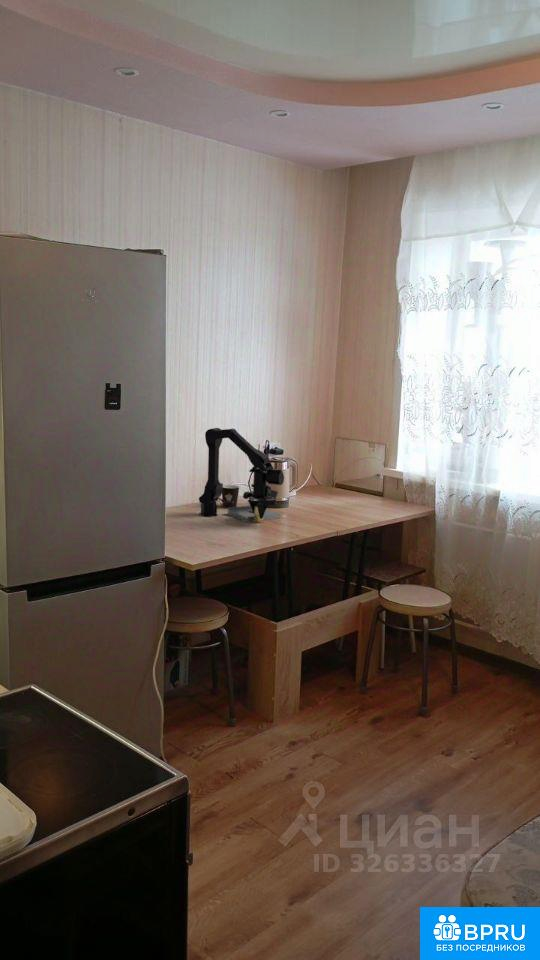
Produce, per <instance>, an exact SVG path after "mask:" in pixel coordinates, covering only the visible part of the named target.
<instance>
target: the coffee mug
mask: <svg viewBox="0 0 540 960" xmlns="http://www.w3.org/2000/svg"><path fill="white" fill-rule="evenodd" d="M222 489H223V492H222V494H221V498H220V497H219V498H218V500H219V501H220V502H221V503H222V508H224V507H225V508H224V509H228V507H238V506H237V505H238V499H239V498H238V497H239V493H240V491H239V490H240V486H239V485H235V484H234V485H233V484H225V485H224V484H223V487H222Z"/></svg>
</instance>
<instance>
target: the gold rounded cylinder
mask: <svg viewBox="0 0 540 960" xmlns="http://www.w3.org/2000/svg"><path fill="white" fill-rule="evenodd" d="M253 522H254V523H255V524H262V523H264V520H263V518H262V519H260V516H259V512H258V508H257V506H255V510H254V521H253Z"/></svg>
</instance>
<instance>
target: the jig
mask: <svg viewBox="0 0 540 960" xmlns="http://www.w3.org/2000/svg"><path fill="white" fill-rule="evenodd" d="M228 514H229V515H228ZM227 515H228V516H231V517H233V516H234V518H235V519H239V520H240V519H241V521H243V522H245V523H247V522H254V513H253V510H252V508H251V506H250V505H240V506H236V507H228V508H227ZM280 515H281V513H278V512H276V511H273V510H270V509H267V508H266V510H265V513H264V516H263V521H264V520H272V519H275V520H276V519H280V518H281V516H280Z"/></svg>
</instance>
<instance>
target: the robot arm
mask: <svg viewBox="0 0 540 960" xmlns="http://www.w3.org/2000/svg"><path fill="white" fill-rule="evenodd" d="M204 436H205V443H206V445H207V449H208V458H207V459H208V460H207V461H208V462H207V467H208V468H207V480H206V483H205V485H204V490H203V494H202V495H201V496H200V497H198V501H199V503H200V512H199V513H198V514H199V515H200V514H201V516H203V517H205V518H206V517H216V516H217V517H218V515H219V514H218V504H217V502H218V501H219V499H218V498H220V497H222V492H223V489H222V487H223V485H224V484H223V482H221V483H220V479H219V471H220V469H219V468H220V465H219V464H220V459H219V458H220V447H221V445H222V443H223V439H228V440H230V441H231V442H232V443H233V444H234V445H235V446H236V447H237V448H239V450H241V451H242V452H243V453H244V454H245V455H246V456H247V458H248V460H249V462H250V463H251V465H252V468H250V469H249V473H253V483H252V484H251V487H252V488H253V489H252V490H253V491H252V490H251V491H244V492H243V495H242V496H243V497H242V498H243V499H245V500H247V502H248V504H249V506H251V508H252V510H253V513H254V510H255V506H257V508H258V512H259V516H260V519H262V518H263V516H264V513H265V510H266V509H267V508H268V507H269V506H276V505H277V500H276V498H277V496H278V494H279V492H278V491H277V490H273V489H272V487H271V486H269V485H278V486H282V485H283V483H284V481H285V476H284V472H283V469H282V468H281V469H280V468H279V469H276V468H274V466H273V464H272V463H271V462H270V457H269V455H268V454H266V453H264V452H263V451H262V450H259V449H256V447H254V446H253V445H252V444H251V443H249V441H248V440H247V439H245V438H244V437H243V436H242V435H241V434H240V433H239V431H237V430H236V429H235V428H229V429H228V428H227V429H221V428H219V427H213V428H209V429H207V430H206V431H205V434H204ZM267 483H268V484H267Z"/></svg>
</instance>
